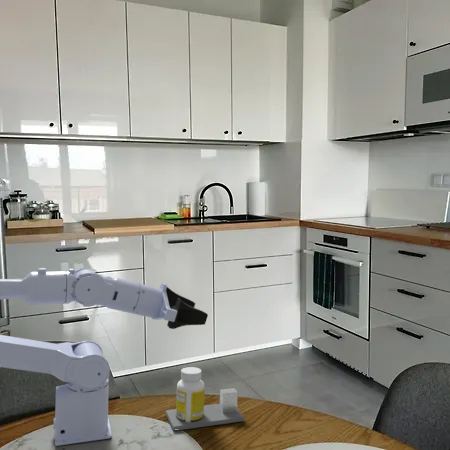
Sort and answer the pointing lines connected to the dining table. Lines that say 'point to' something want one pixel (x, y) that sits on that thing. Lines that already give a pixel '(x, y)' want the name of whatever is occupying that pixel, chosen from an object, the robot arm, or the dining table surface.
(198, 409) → the supplement bottle
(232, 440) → the dining table surface
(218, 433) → the dining table surface
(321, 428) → the dining table surface
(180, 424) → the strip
